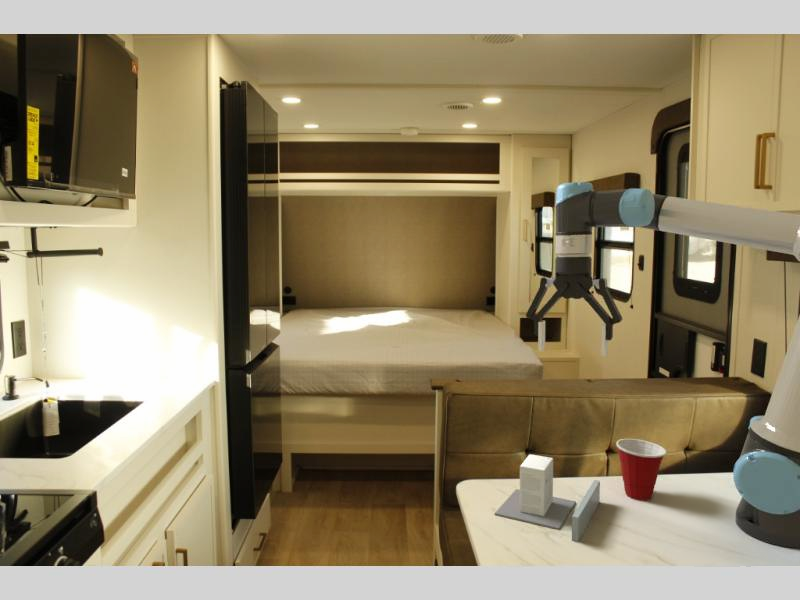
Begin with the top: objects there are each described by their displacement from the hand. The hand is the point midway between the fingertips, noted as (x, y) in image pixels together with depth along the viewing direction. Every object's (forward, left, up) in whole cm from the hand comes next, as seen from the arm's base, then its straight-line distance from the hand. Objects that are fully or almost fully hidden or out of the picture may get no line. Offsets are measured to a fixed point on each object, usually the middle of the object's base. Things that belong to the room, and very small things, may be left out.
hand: (572, 352), depth 130 cm
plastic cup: (-13, -12, -35) cm, 39 cm away
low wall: (-5, +6, -35) cm, 36 cm away
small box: (+6, +6, -34) cm, 36 cm away
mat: (+6, +6, -35) cm, 36 cm away
